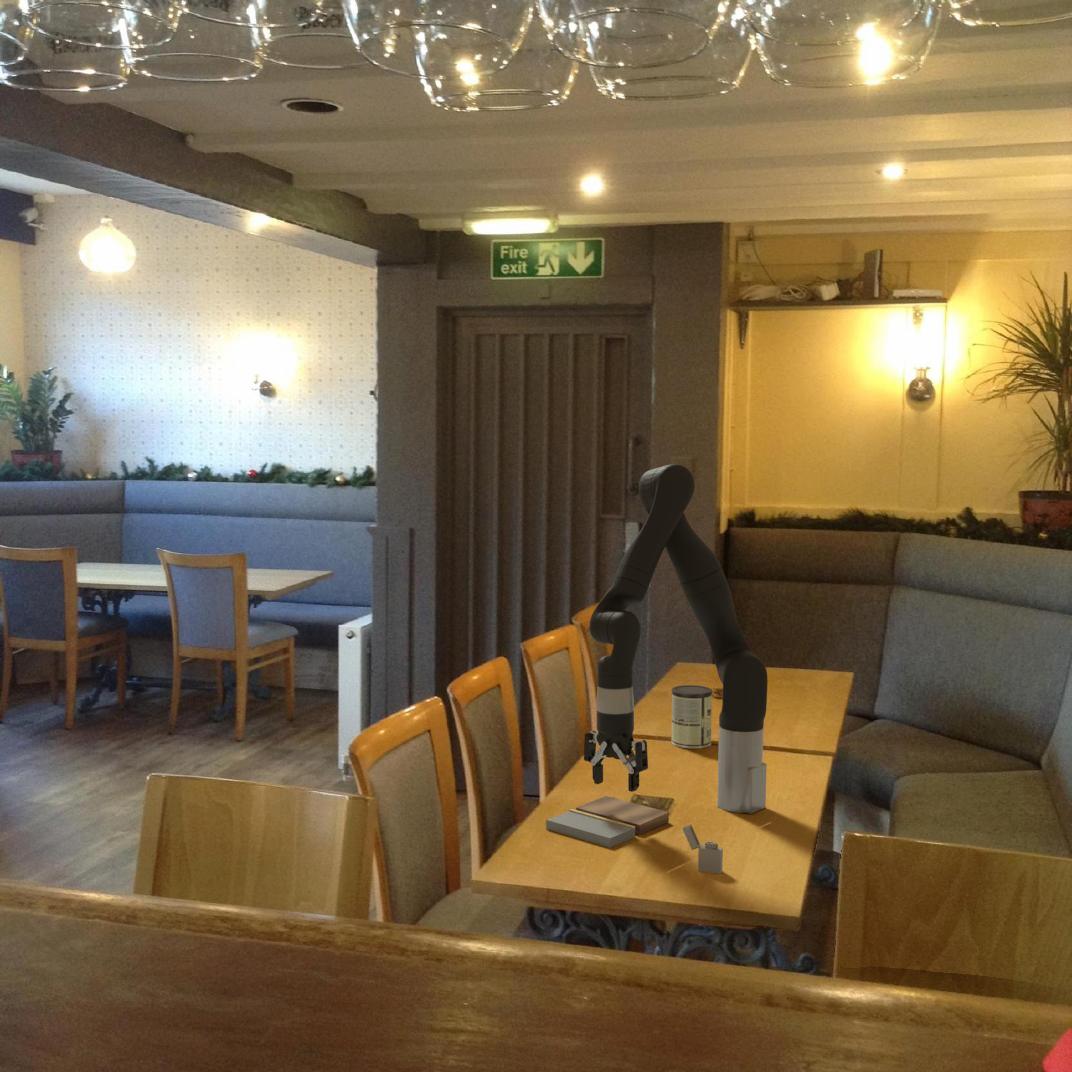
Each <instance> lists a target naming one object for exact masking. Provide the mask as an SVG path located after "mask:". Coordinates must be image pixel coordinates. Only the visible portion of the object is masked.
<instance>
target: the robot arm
mask: <svg viewBox="0 0 1072 1072" xmlns="http://www.w3.org/2000/svg"><path fill="white" fill-rule="evenodd" d="M695 486H696V485H695V478H694V476H693V474H692V472H691V471H690V470H689V469H688V468H687V467H686V466H684V465H682V464H677V463H672V464H671V463H670V464H665V465H663V466H658V467H655V468H652V469H650V470H647V471H645V472H644V473H643V474H642V476H641V477H640V479H639V483H638V495H639V498H640V500H641V503H642V506H643V507H644V509H645V511H646V512H647V514H648V516H647V518H646V520H645V522H644V524H643V526H642V528H641V529H640V530H639V532H638V533H637V535H636V536H635V537H634V539H633V541H632V542H631V544H630V545H629V546H628V548H627V550H626V552H625V553H624V554H623V557H622V559H621V561H620V564H619V566H618V569H617V571H616V574H615V577H614V578H613V582H612V584H611V586H610V588H609V589H608V590H607V591H606V592H605V594H604V595H603V597H601V600H600V601H599V602H598V604H597V605H596V607H595V608H594V610H593V611H592V614H591V616H590V620H589V632H590V635H591V637H592V638H593V640H595V641H596V642H599V643H600V644H601V643H602V644H609V645H613V646H612V651H611V654H609V655H604V656H602V657H600V658H599V660H598V662H597V691H596V698H595V699H596V700H595V701H596V702H595V703H596V705H595V706H596V709H595V711H596V730H597V732H596V730H591V731H588V732H585V734H584V741H583V742H584V745H583V747H584V748H583V760H584V762H589V763H590V764H591V766H592V767H591V768H592V771H591V772H592V781H593V783H594V785H600V784H602V783H603V782H604V764H602V763H603V762H604V760H605V759H606V758H613V759H615V760H620V762H621V763H622V765H624V766H625V767H626V770H627V771H628V774H627V775H628V779H627V780H628V781H627V782H628V784H627V785H628V786H627V787H628V789H627V790H628V791H629V792H633V793H634V792H636V791H637V790H638V789H639V787H640V773H642V772H644V771H647V770H648V769H649V760H648V758H649V757H648V743H647V740H645V739H642V740H635V739H634V736H633V733H634V730H635V699H634V698H635V696H634V687H633V667H634V666H633V665H634V663H635V659H636V655H637V649H638V647H639V642H640V639H641V633H642V628H641V623H640V621H639V618H638V616H637V615H636V614H635V613H634V612H632V611H629V610H626V609H628V607H630V606H633V605H638V604H640V603H642V602H643V600H644V599H645V597H646V596H647V595H646V594H647V592H648V590H649V588H650V584H651V581H652V579H653V576H654V574H655V572H656V571H655V570H656V568H657V566H658V563H659V560H660V558H661V557H662V555H663V552H664V550H665V549H666V553H667V554H668V557H669V560H670V562H671V564H672V566H673V568H674V570H675V574H676V576H677V579H678V581H679V584H680V586H681V588H682V591H683V593H684V596H685V598H686V600H687V602H688V604H689V606H690V609H691V611H692V612H693V614H694V617H695V618H696V620H697V622H698V623H699V625H700V626H701V629H702V631H703V632H704V634H705V636H706V639H707V642H708V643H709V647H710V650H711V654H712V656H713V661H714V663H715V667H716V671H717V675H718V678H719V679H720V682H721V684H722V703H721V710H720V713H719V715H718V717H719V718H718V719H719V720H718V753H717V755H718V757H717V758H718V761H717V766H718V767H717V796H716V797H717V806H718V808H719V809H722V810H724V811H727V812H731V813H739V814H740V813H741V814H750V815H751V814H754V813H756V812H759V811H761V810H762V809H765V808H766V803H767V802H766V800H767V797H766V796H767V763H765V762H763V759H764V758H763V756H764V726H765V725H764V721H765V718H766V714H767V700H768V685H769V683H768V679H769V678H768V672H767V667H766V665H765V664H764V662H763V661H762V660H761V659H760V658H759V657H758V656H757V655H756V654H755V653H754V651H753V649H752V648H751V646H750V644H749V643H748V641H747V640H746V637H745V636H744V633H743V631H742V629H741V627H740V624H739V622H738V621H739V620H738V619H737V614H736V609H735V604H734V600H733V596H732V591H731V589H730V585H729V583H728V580H727V576H726V575H725V573H724V570H723V568H722V565H721V563H720V561H719V559H718V558H717V556H716V555H715V553H714V552H713V550H711V548H710V547H709V546H708V545H707V544H706V543H705V542H704V541H703V539H701V537H700V536H699V535H698V534H697V533H696V532H695V531H694V529H693V528H692V526H691V525H690V523H689V521H688V519H687V516H686V514H685V511H686V509H687V507H688V505H689V504H690V502H691V500H692V497H693V495H694V493H695V488H696V487H695ZM597 744H598V745H599V747H598V749H597ZM634 752H635V753H634Z"/></svg>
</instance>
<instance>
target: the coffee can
mask: <svg viewBox="0 0 1072 1072" xmlns="http://www.w3.org/2000/svg"><path fill="white" fill-rule="evenodd" d="M713 691H714V690H713V689H712V688H711V687H707V686H703V685H693V684H689V685H688V684H685V685H677V686H674V687H672V688H671V741H670V742H671V743H670V744H671V745H673V746H674V747H678V748H682V749H691V750H694V749H696V750H697V749H706V748H709V747H711V746H712V717H713V716H712V715H713V714H712V712H713V711H712V707H713V701H712V700H713Z"/></svg>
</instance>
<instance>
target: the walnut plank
mask: <svg viewBox="0 0 1072 1072" xmlns="http://www.w3.org/2000/svg"><path fill="white" fill-rule="evenodd" d="M575 810H578V811H581V812H585V813H589V814H592V815H596V816H600V817H603V818H607V819H610V820H614V821H618V822H621V823H625V824H629V825H632V826H635V835H639V836H641V835H642V834H644V833H648V832H649V831H652V830H654V829H656V828H658V827H660V826H663V825H665V824H667V823H669V822H670V821H669V819H670V817H669V816H670V814H669V813H670V812H669V811H666V810H662V809H658V808H654V807H652V806H651V807H650V806H646V805H643V804H638V803H635V802H631V801H627V800H623V799H620V798H615V797H612V796H609V795H604V796H602V797H600V798H597V799H595V800H592V801H589V802H587V803H584V804H581V805H580V806H577V807H575Z"/></svg>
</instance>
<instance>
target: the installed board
mask: <svg viewBox="0 0 1072 1072" xmlns="http://www.w3.org/2000/svg"><path fill="white" fill-rule="evenodd" d="M545 829H546V830H548V831H549V830H550V831H552V832H556V833H558V834H563V835H566V836H569V837H572V838H576V839H579V840H583V841H586V842H588V843H589V842H590V843H593V844H596V845H600V846H603V847H607V848H611V849H612V848H613V847H616V846H618V845H620V844H623V843H624V842H626V841H629V840H631V839H634V838H635V837H636V834H635V826H632V825H629V824H625V823H621V822H618V821H614V820H610V819H607V818H603V817H600V816H596V815H592V814H589V813H585V812H581V811H578V810H576V809H574V808H569V810H568V811H566V812H563V813H561V814H558V815H555V816H553V817H550V818H548V819H546V820H545Z"/></svg>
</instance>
